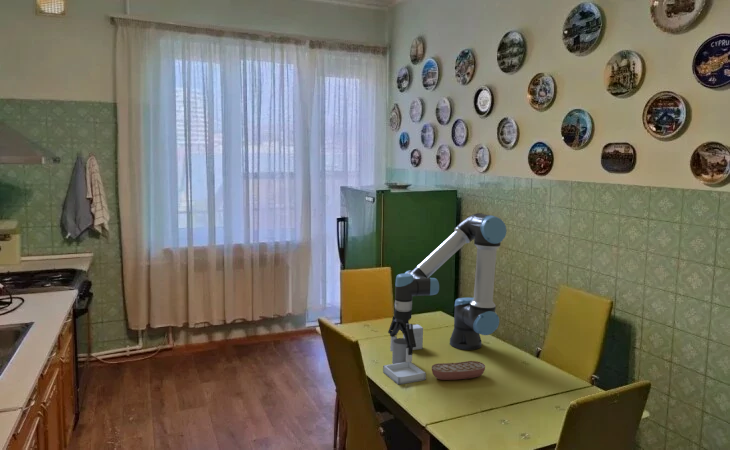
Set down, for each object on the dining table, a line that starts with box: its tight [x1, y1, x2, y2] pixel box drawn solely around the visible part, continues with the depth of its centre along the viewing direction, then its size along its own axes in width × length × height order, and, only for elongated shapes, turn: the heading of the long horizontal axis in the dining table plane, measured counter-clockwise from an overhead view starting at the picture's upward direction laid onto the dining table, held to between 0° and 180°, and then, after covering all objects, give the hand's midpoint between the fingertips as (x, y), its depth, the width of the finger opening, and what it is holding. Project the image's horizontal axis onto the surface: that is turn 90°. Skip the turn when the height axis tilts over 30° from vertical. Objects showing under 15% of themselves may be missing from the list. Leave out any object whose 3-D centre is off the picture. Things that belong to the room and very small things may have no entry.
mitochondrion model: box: [431, 360, 486, 381], centre depth 226 cm, size 23×10×5 cm, turn 104°
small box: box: [402, 324, 424, 351], centre depth 260 cm, size 8×6×10 cm
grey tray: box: [382, 362, 427, 386], centre depth 227 cm, size 13×14×3 cm
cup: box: [391, 337, 407, 364], centre depth 241 cm, size 8×8×10 cm
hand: (400, 356), depth 241 cm, fingers open, 13 cm apart
